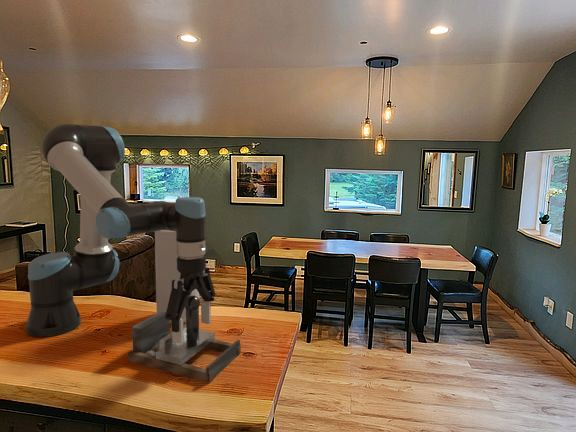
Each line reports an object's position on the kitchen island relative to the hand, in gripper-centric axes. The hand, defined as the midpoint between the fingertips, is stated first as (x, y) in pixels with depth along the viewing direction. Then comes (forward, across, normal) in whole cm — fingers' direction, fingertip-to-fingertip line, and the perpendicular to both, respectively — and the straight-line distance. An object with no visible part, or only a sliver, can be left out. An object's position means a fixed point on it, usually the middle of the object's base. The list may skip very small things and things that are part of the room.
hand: (192, 332), depth 107 cm
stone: (+8, -1, +9) cm, 12 cm away
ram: (+8, 0, +2) cm, 8 cm away
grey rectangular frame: (+8, 0, +2) cm, 8 cm away
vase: (+8, +22, +22) cm, 32 cm away
